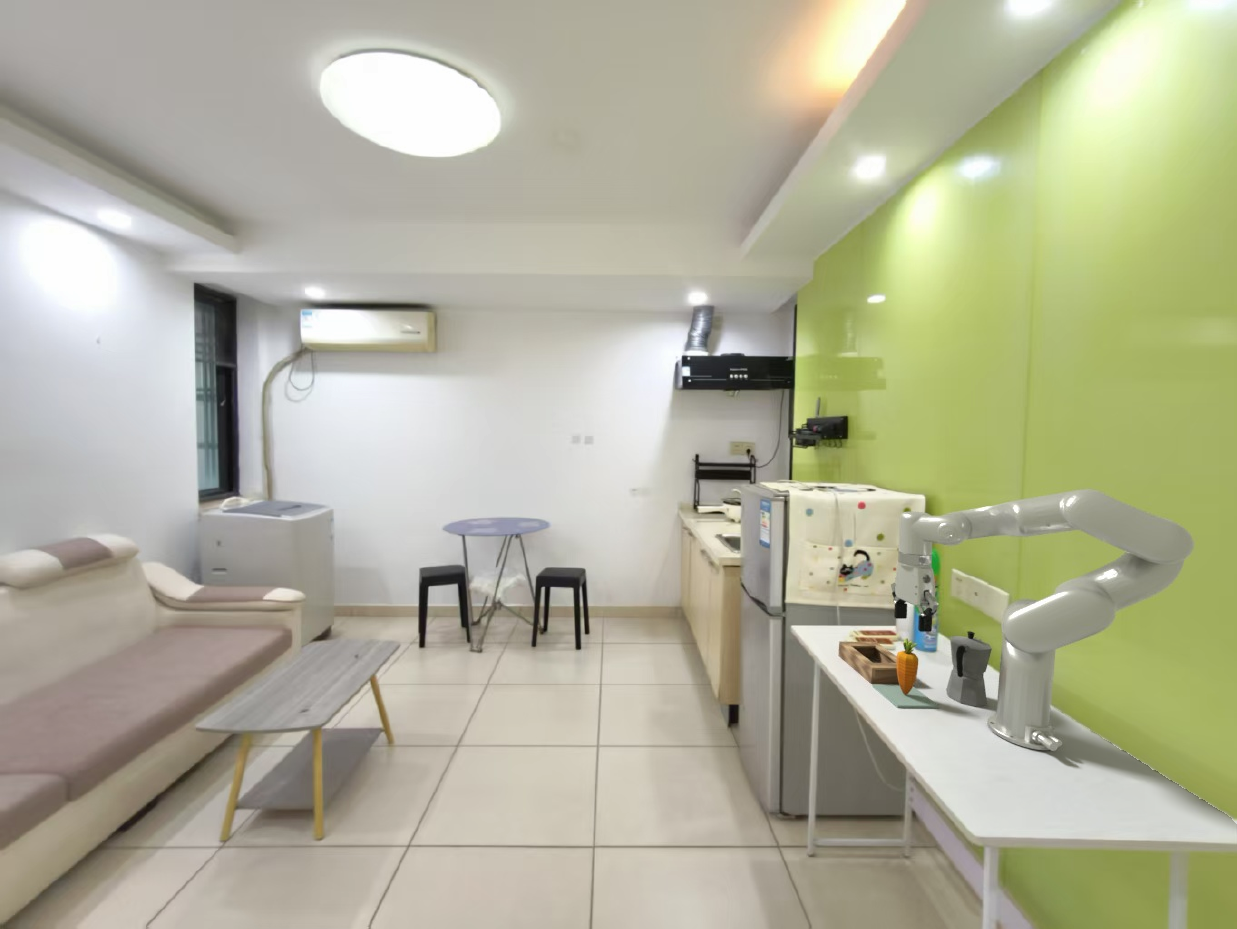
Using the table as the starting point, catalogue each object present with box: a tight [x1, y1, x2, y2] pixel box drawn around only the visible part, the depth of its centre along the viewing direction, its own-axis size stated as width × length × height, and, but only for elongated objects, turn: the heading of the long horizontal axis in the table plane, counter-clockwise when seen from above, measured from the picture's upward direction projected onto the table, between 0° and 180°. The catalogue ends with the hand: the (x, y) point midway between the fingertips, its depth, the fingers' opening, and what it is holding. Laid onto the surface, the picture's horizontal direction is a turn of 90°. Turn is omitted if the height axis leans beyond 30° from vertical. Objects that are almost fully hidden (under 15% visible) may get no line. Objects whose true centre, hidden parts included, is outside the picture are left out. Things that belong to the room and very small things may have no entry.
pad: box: [871, 684, 940, 709], centre depth 132 cm, size 11×11×1 cm
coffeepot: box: [945, 630, 992, 708], centre depth 132 cm, size 15×9×18 cm, turn 129°
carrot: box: [896, 638, 919, 695], centre depth 132 cm, size 5×5×15 cm
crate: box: [837, 641, 899, 685], centre depth 148 cm, size 18×12×5 cm, turn 4°
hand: (912, 624), depth 131 cm, fingers open, 9 cm apart
